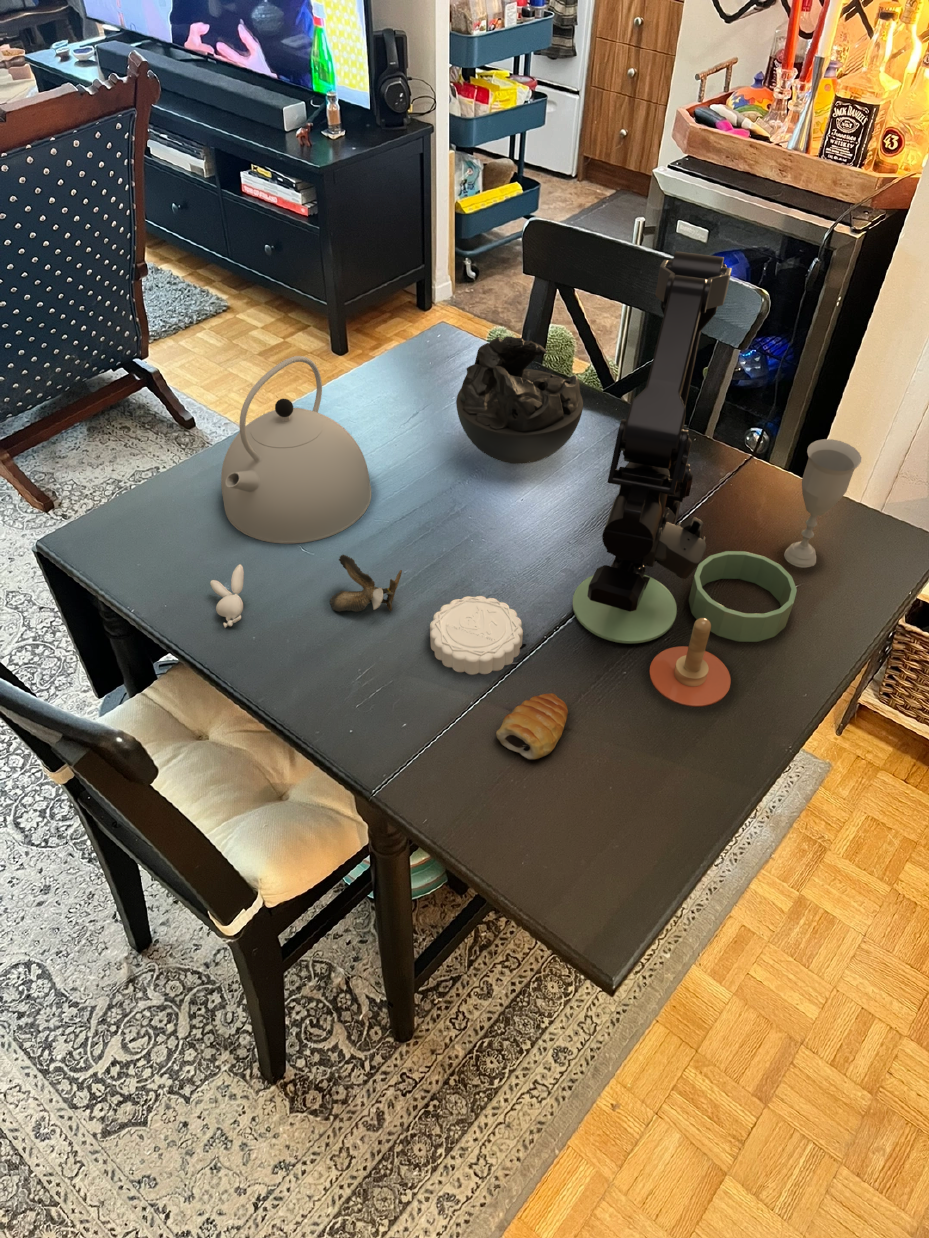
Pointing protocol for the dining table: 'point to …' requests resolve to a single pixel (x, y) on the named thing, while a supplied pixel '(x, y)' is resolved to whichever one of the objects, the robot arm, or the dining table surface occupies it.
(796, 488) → the dining table surface
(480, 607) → the mooncake
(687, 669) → the pestle
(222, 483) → the kettle
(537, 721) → the pastry
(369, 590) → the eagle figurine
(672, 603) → the pot lid
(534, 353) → the bowl of black rocks
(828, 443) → the chalice
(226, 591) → the rabbit figurine
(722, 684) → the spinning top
